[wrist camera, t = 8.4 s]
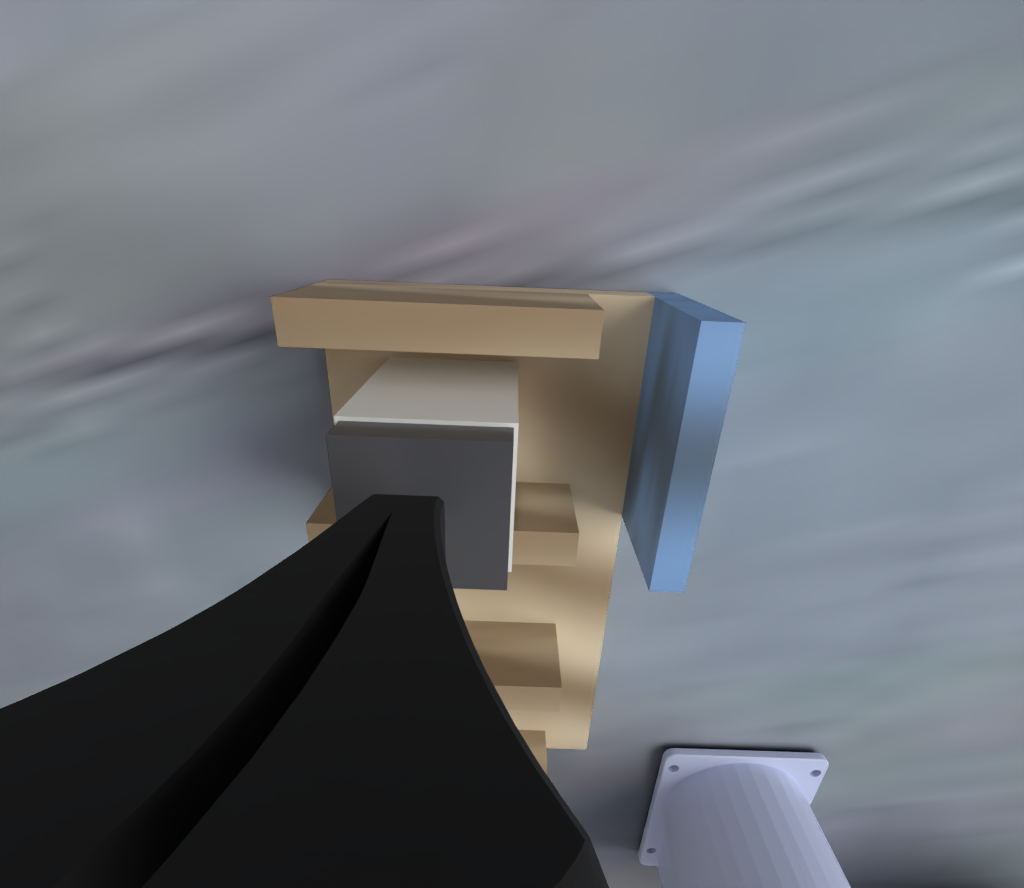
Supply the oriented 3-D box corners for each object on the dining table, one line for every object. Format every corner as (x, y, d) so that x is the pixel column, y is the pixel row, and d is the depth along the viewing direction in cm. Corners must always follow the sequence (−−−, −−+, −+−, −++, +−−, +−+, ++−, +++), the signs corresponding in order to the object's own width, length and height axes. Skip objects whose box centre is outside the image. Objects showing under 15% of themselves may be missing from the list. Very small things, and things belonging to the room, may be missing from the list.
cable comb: (604, 729, 24) (625, 849, 19) (377, 722, 24) (344, 841, 19) (678, 294, 15) (745, 322, 11) (328, 279, 15) (249, 302, 11)
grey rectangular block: (512, 475, 17) (511, 594, 12) (397, 470, 17) (340, 587, 12) (517, 362, 15) (518, 438, 10) (390, 357, 15) (320, 430, 10)
